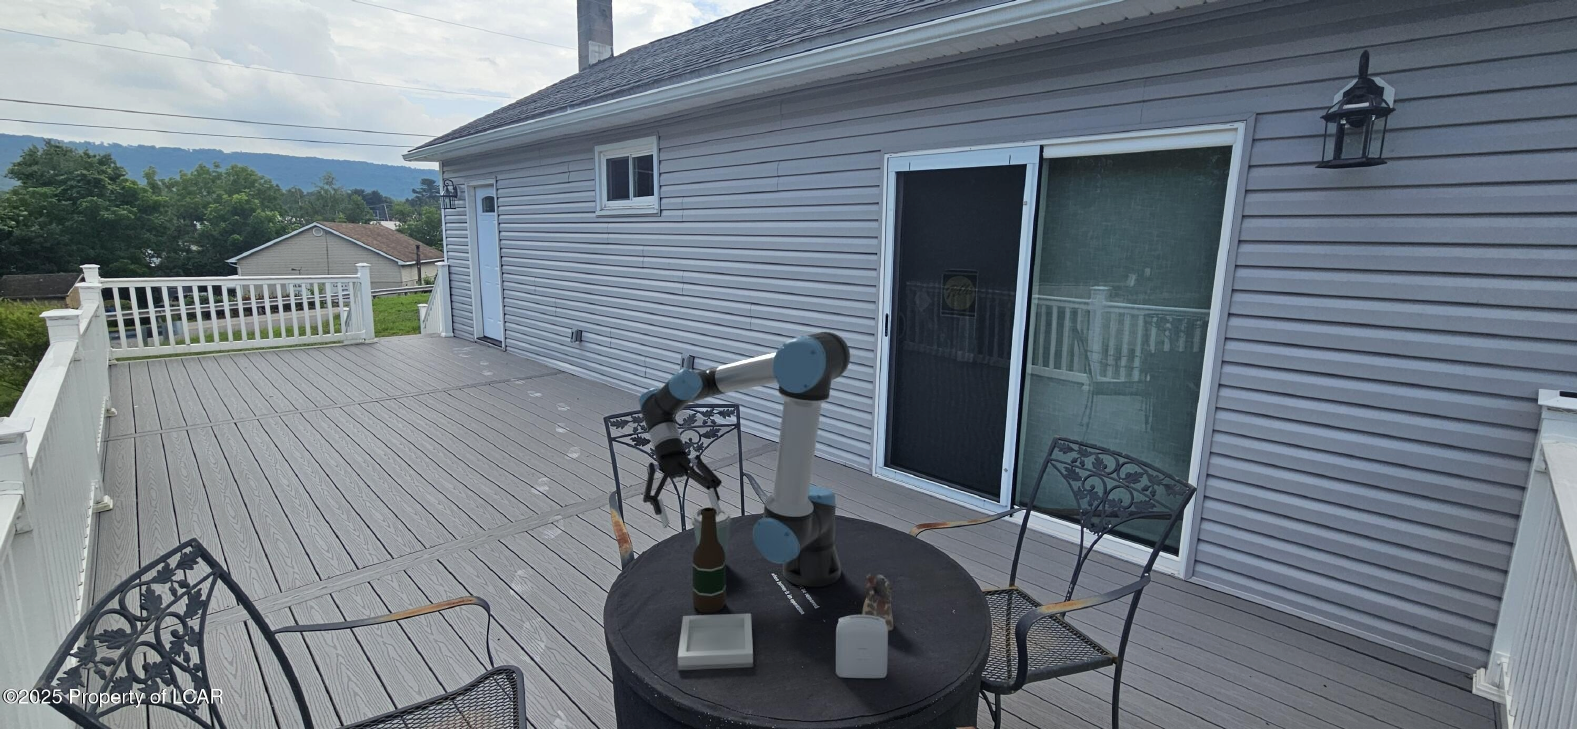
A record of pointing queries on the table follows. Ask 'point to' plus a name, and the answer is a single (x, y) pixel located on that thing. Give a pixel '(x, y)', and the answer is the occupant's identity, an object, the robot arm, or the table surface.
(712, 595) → the beer bottle
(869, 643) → the photo printer
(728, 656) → the dock tray
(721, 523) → the disposable coffee cup
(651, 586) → the table surface
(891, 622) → the figurine
